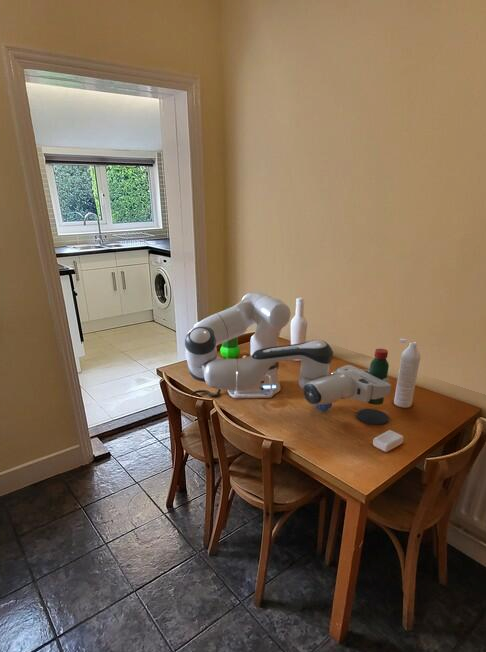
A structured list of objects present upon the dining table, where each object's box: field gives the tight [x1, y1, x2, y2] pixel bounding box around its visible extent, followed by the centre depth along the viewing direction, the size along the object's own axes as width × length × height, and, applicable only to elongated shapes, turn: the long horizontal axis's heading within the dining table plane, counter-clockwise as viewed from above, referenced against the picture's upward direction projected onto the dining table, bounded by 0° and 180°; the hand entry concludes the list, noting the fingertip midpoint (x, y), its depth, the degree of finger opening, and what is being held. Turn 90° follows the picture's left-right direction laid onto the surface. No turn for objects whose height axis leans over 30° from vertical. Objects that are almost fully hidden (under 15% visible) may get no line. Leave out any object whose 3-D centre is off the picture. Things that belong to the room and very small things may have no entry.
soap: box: [372, 429, 404, 453], centre depth 132 cm, size 9×6×3 cm, turn 126°
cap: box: [373, 348, 389, 360], centre depth 138 cm, size 4×4×2 cm
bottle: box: [290, 297, 308, 362], centre depth 196 cm, size 8×8×30 cm
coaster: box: [356, 408, 389, 426], centre depth 148 cm, size 11×11×1 cm
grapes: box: [315, 403, 333, 413], centre depth 152 cm, size 12×7×12 cm, turn 30°
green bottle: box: [367, 357, 390, 406], centre depth 141 cm, size 6×6×18 cm
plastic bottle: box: [219, 306, 241, 359], centre depth 199 cm, size 10×10×25 cm
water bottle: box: [393, 337, 421, 409], centre depth 153 cm, size 9×6×25 cm
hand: (379, 375), depth 142 cm, fingers closed on green bottle, 6 cm apart
